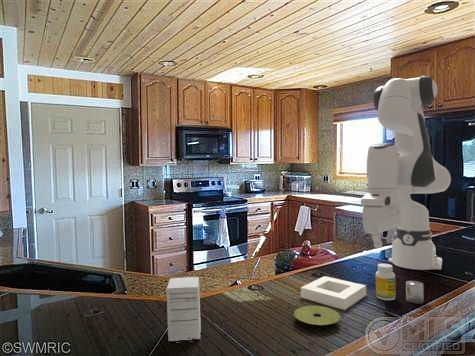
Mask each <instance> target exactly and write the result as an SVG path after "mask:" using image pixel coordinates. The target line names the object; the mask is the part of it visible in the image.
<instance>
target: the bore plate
mask: <svg viewBox="0 0 475 356" xmlns="http://www.w3.org/2000/svg"><path fill="white" fill-rule="evenodd" d="M366 296H367V285H366V284H362V283H356V282H352V281H348V280H343V279H339V278H335V277H331V276H325V275H324V276H322V277H319V278H318V279H315V280H313V281H311V282H309V283H307V284H305V285H303V286H300V298H301V299H305V300H309V301H312V302H315V303H319V304H322V305H326V306H330V307H332V308H336V309H340V310H343V311H345V310H347V309H348V308H351V306H353V305H355V304H356V303H358V302H359V301H360V300H362V299H363V298H365V297H366Z"/></svg>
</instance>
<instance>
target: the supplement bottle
mask: <svg viewBox="0 0 475 356" xmlns="http://www.w3.org/2000/svg"><path fill="white" fill-rule="evenodd" d="M393 269H394V267H393V265H392V264H389V263H378V264H377V271H376V272H375V296H376V298H378V299H379V300H382V301H388V302H389V301H394V300H396V297H397V296H396V295H397V293H396V287H397V286H396V274H395V273H394V272H393Z"/></svg>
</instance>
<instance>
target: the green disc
mask: <svg viewBox="0 0 475 356" xmlns="http://www.w3.org/2000/svg"><path fill="white" fill-rule="evenodd" d="M293 315H294V317H295V318H296V319H297V320H298V321H300V322H303V323H306V324H309V325H317V326H327V325H331V324H332V325H333V324H335V323H337V322H339V321H340V319H341V315H340V313H339V312H338V311H337V310H334V309H332V308H331V307H326V306H322V305H305V306H301V307H299V308H297V309H295V310H294V313H293Z"/></svg>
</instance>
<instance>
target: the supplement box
mask: <svg viewBox="0 0 475 356" xmlns="http://www.w3.org/2000/svg"><path fill="white" fill-rule="evenodd" d="M200 296H201V295H200V278H199V277H198V276H192V277H191V276H189V277H187V276H186V277H177V278H176V277H172V278H171V277H170V278H169V280H168V283H167V287H166V310H167V311H166V313H167V315H166V316H167V336H168V337H167V338H168V341H179V340H192V339H200V340H201V334H200V333H201V331H202V328H201V327H202V325H201V303H200V302H201V298H200Z"/></svg>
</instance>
